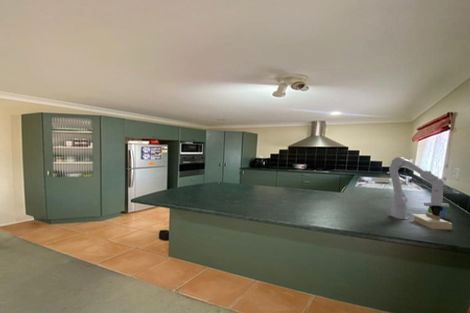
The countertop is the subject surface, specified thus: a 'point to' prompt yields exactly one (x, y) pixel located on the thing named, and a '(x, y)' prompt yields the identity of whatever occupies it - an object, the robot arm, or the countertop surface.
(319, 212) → the countertop surface
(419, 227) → the countertop surface
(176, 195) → the countertop surface
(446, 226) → the mailer box
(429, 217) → the mailer lid
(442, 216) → the snack cup
